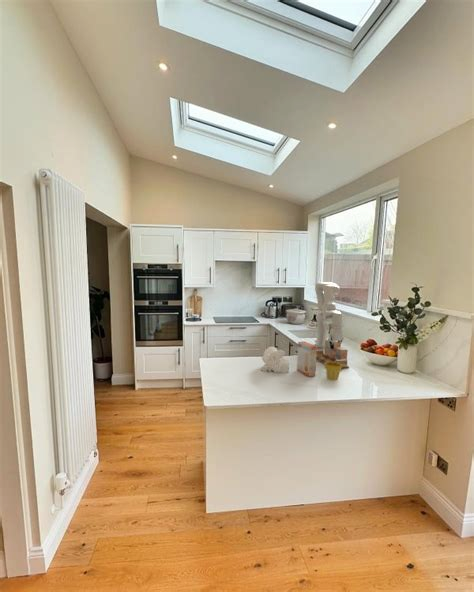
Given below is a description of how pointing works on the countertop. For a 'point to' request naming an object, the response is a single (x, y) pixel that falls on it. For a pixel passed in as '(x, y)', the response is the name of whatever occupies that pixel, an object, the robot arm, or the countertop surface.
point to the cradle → (330, 359)
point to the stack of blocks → (335, 350)
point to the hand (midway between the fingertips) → (335, 348)
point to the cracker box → (306, 358)
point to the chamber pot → (295, 316)
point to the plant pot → (333, 370)
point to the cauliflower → (275, 360)
